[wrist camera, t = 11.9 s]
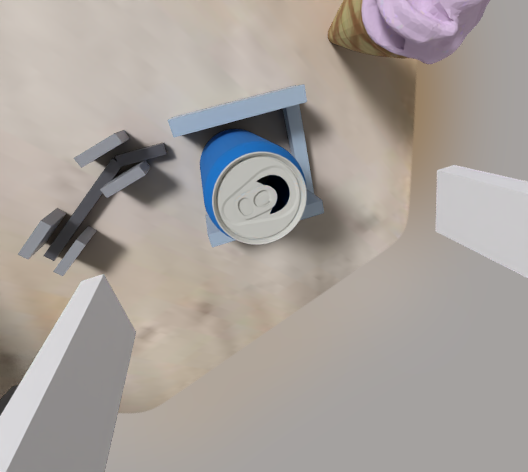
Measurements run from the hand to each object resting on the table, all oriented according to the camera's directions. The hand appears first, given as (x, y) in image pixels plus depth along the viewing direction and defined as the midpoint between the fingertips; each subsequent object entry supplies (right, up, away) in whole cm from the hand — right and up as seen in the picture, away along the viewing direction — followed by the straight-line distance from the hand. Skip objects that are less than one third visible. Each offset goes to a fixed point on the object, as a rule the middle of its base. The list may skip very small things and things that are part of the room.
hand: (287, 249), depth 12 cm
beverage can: (-4, +7, +17) cm, 19 cm away
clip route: (-15, +4, +15) cm, 22 cm away
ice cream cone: (+5, +18, +15) cm, 24 cm away
